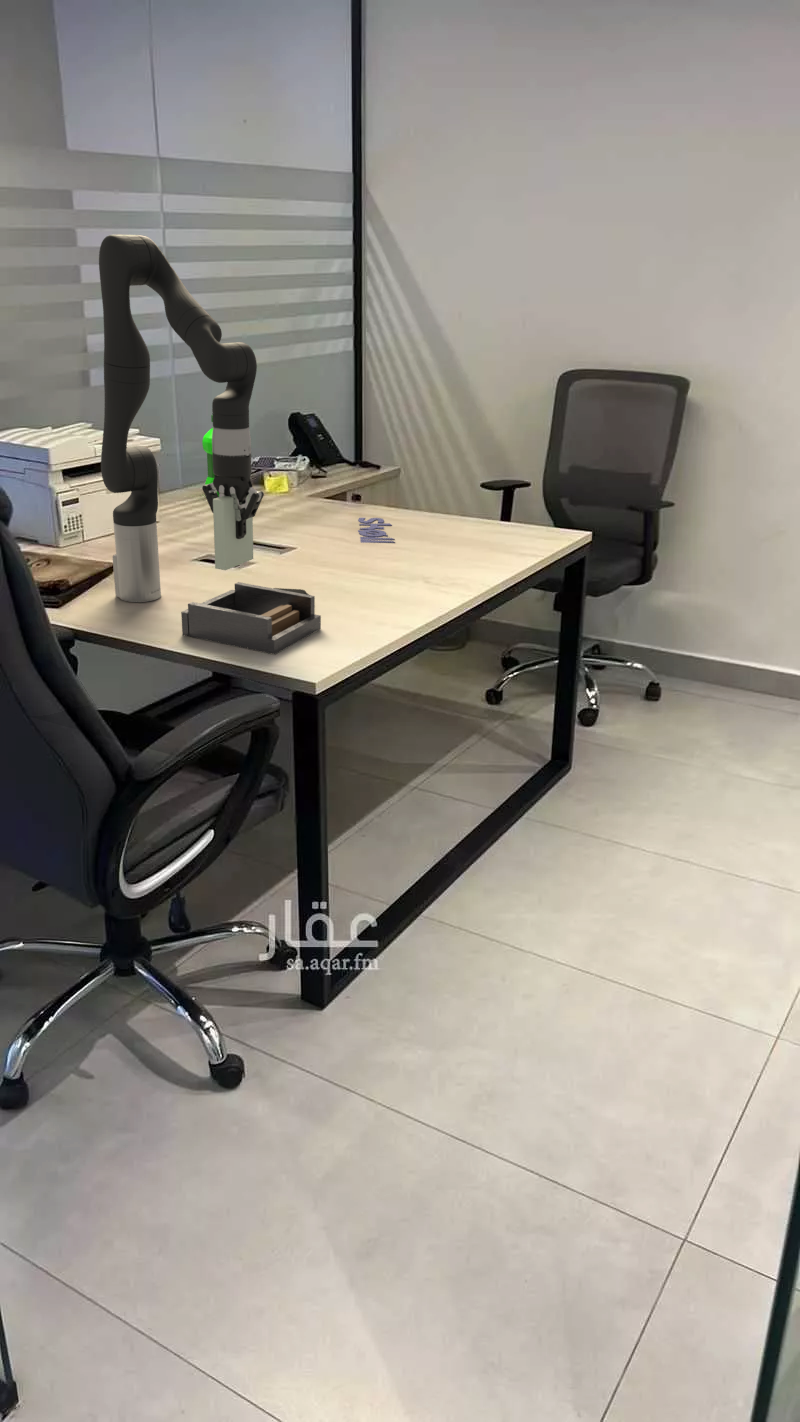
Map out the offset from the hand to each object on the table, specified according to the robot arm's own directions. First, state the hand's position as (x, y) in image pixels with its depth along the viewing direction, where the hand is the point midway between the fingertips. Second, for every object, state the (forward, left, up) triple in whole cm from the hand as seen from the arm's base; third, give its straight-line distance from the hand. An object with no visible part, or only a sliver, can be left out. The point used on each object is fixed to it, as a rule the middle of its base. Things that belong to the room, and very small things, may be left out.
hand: (234, 536), depth 216 cm
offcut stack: (+10, 0, -20) cm, 22 cm away
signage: (-15, +91, -20) cm, 95 cm away
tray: (+4, 0, -20) cm, 20 cm away
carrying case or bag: (+1, +17, -20) cm, 27 cm away
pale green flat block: (0, 0, -6) cm, 6 cm away
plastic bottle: (-77, +104, -20) cm, 131 cm away
